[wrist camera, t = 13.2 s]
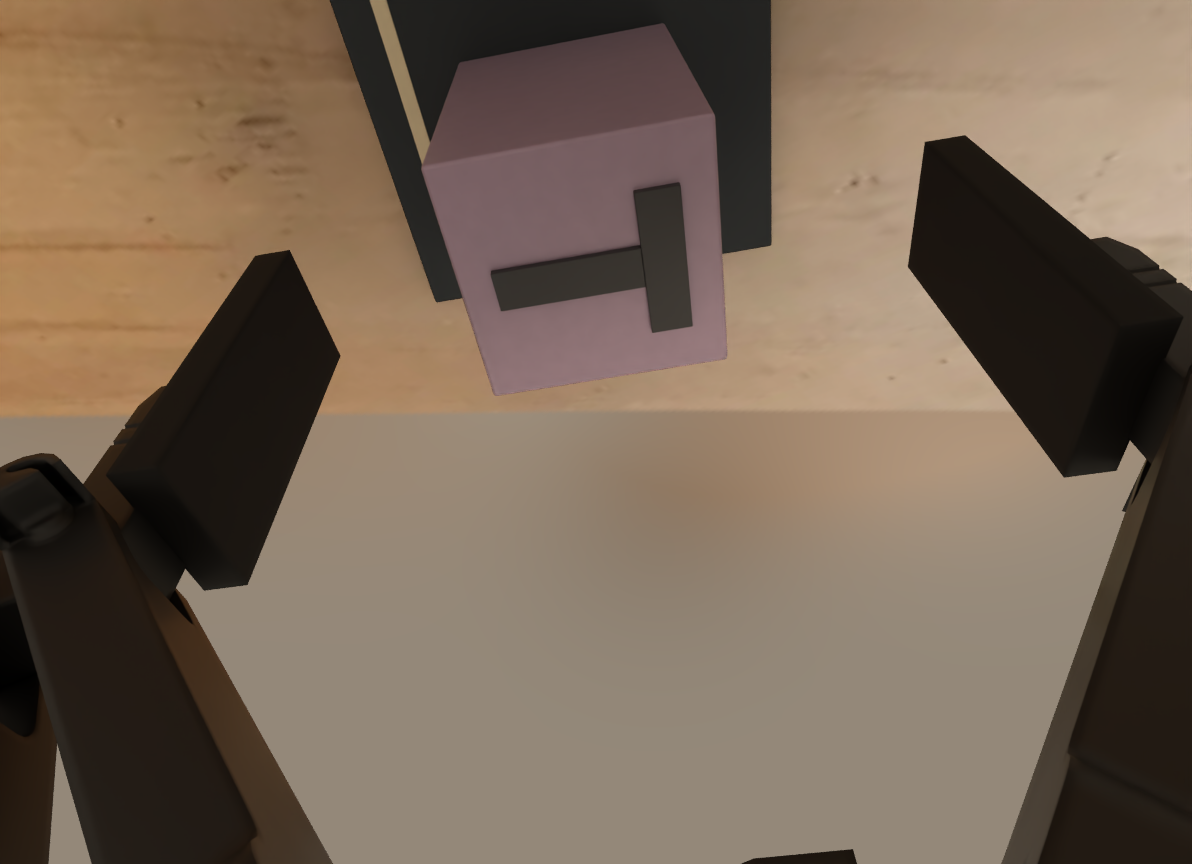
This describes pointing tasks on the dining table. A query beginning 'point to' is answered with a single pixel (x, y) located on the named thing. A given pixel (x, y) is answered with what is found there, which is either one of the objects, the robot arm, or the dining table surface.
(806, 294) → the dining table surface
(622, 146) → the letter T
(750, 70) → the word board
